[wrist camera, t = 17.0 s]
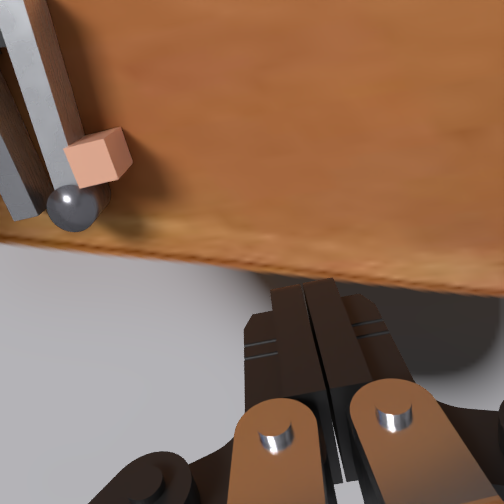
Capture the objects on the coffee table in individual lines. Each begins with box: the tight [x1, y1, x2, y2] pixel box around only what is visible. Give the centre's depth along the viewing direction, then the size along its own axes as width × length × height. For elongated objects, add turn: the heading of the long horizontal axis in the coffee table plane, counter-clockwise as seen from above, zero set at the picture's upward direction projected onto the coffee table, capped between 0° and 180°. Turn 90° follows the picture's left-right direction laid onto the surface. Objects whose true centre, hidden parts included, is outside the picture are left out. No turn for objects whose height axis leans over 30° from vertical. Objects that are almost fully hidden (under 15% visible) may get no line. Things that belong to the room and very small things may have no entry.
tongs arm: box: [0, 0, 111, 232], centre depth 33 cm, size 17×4×5 cm, turn 8°
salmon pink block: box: [63, 127, 133, 189], centre depth 34 cm, size 3×3×5 cm
